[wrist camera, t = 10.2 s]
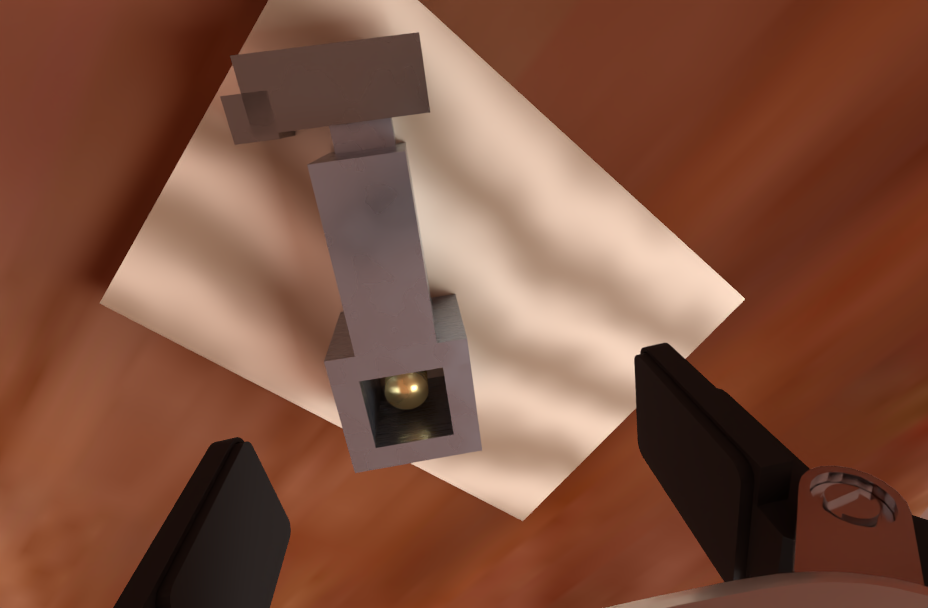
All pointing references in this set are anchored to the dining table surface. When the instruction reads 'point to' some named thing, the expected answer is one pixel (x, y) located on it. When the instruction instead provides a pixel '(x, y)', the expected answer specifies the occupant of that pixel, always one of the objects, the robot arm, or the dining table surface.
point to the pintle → (407, 389)
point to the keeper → (325, 86)
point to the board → (429, 258)
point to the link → (388, 307)
